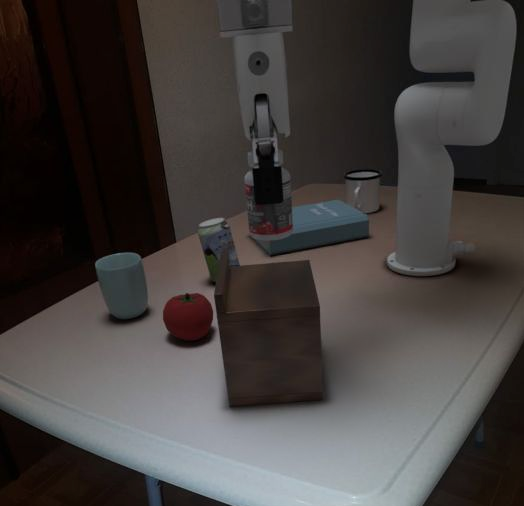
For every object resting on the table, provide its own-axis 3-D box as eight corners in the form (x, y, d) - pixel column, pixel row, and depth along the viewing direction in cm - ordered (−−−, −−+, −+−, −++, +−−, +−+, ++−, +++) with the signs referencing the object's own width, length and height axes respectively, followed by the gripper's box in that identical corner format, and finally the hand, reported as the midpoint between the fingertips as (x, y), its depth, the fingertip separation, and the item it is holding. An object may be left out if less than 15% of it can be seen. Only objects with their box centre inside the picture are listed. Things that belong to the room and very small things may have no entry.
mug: (348, 204, 147) (348, 169, 143) (384, 204, 144) (385, 168, 139) (337, 217, 138) (336, 180, 133) (375, 218, 134) (375, 180, 130)
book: (338, 220, 136) (338, 199, 133) (368, 238, 122) (369, 215, 120) (250, 236, 131) (247, 215, 128) (271, 256, 117) (269, 233, 115)
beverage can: (238, 287, 105) (230, 224, 99) (200, 287, 106) (191, 225, 100) (245, 274, 110) (239, 214, 104) (210, 274, 111) (201, 215, 106)
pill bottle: (240, 238, 68) (231, 154, 63) (268, 225, 71) (262, 145, 66) (274, 244, 65) (268, 157, 60) (302, 231, 68) (298, 147, 63)
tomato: (214, 320, 93) (208, 280, 89) (218, 343, 86) (212, 300, 82) (166, 328, 92) (158, 287, 89) (166, 351, 85) (158, 308, 82)
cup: (113, 328, 94) (100, 272, 89) (103, 312, 100) (89, 259, 95) (157, 315, 96) (147, 261, 92) (144, 300, 103) (134, 249, 98)
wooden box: (313, 342, 84) (308, 243, 76) (323, 399, 70) (319, 286, 63) (233, 348, 84) (221, 250, 76) (229, 406, 71) (213, 294, 63)
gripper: (297, 11, 49) (306, 214, 58) (288, 17, 64) (296, 177, 73) (212, 20, 49) (234, 220, 58) (223, 23, 64) (239, 182, 73)
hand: (268, 195), depth 66 cm, fingers closed on pill bottle, 5 cm apart
